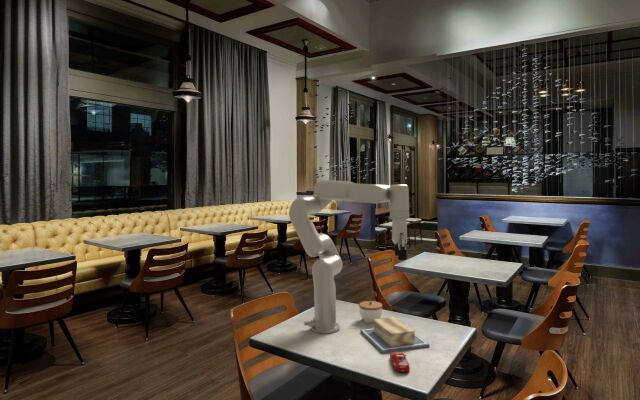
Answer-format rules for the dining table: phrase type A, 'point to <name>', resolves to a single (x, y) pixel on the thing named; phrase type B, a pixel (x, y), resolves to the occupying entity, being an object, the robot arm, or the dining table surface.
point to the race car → (399, 362)
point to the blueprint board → (384, 345)
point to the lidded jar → (370, 310)
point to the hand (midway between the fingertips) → (400, 257)
